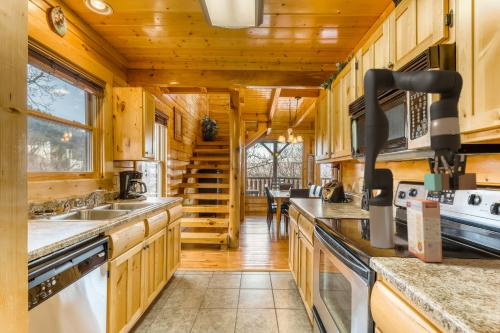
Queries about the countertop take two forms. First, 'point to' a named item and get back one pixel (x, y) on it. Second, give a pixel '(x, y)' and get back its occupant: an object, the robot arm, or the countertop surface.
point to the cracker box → (424, 229)
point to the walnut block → (442, 182)
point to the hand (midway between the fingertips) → (447, 189)
